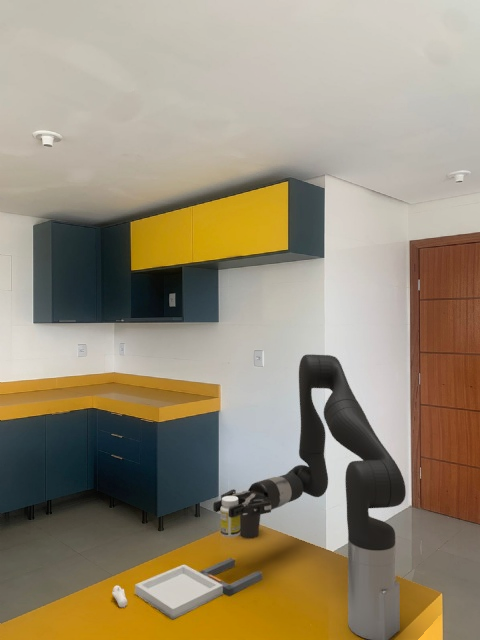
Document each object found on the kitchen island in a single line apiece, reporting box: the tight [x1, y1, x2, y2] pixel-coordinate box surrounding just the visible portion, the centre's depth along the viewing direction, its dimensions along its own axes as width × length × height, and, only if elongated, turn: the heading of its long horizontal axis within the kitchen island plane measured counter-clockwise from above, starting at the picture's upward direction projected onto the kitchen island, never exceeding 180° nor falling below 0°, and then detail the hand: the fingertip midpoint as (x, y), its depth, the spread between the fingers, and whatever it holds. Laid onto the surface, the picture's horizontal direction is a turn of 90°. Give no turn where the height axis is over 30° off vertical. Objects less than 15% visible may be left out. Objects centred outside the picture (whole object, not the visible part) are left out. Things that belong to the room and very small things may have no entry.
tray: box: [134, 564, 224, 620], centre depth 114 cm, size 14×14×2 cm
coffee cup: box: [239, 511, 262, 539], centre depth 147 cm, size 8×8×10 cm
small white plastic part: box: [111, 584, 128, 608], centre depth 110 cm, size 4×6×3 cm, turn 6°
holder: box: [198, 557, 263, 597], centre depth 121 cm, size 11×11×2 cm
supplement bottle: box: [219, 496, 240, 538], centre depth 121 cm, size 5×5×8 cm
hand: (222, 510), depth 119 cm, fingers closed on supplement bottle, 4 cm apart
